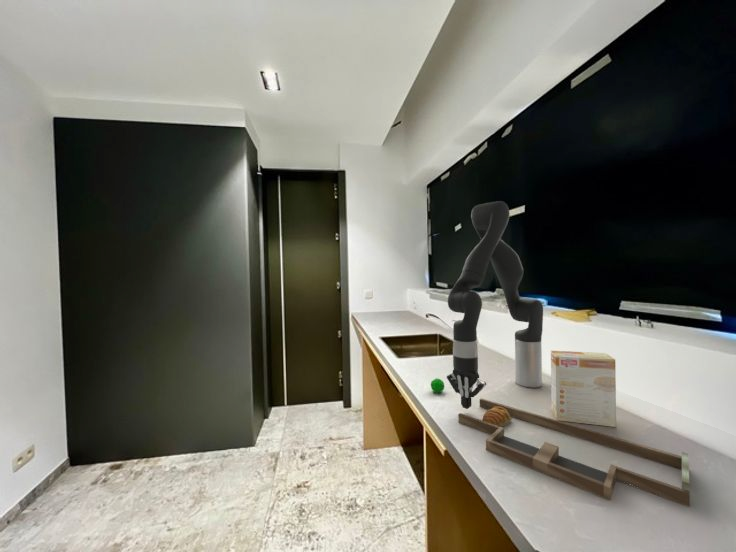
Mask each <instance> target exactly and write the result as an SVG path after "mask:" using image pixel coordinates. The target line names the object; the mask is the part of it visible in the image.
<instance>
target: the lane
mask: <svg viewBox="0 0 736 552" xmlns="http://www.w3.org/2000/svg"><path fill="white" fill-rule="evenodd" d="M495 406H496V407H503V408H505V409H506V410H507V412H508V413H509V415H510V417H511V418H514V419H518V420H522V421H525V422H528V423H531V424H534V425H538V426H541V427H544V428H548V429H551V430H554V431H557V432H561V433H563V434H566V435H569V436H572V437H576V438H580V439H583V440H586V441H589V442H592V443H595V444H598V445H599V444H600V445H601V446H605V447H609V448H612V449H615V450H618V451H622V452H625V453H628V454H631V455H635V456H637V457H640V458H644V459H647V460H650V461H654V462H656V463H659V464H664V465H667V466H669V467H673V468H677V469H680V470H681V487H679V486H675V485H672V484H670V483H667V482H664V481H661V480H658V479H654V478H652V477H649V476H646V475H643V474H640V473H637V472H634V471H631V470H628V469H626V468H622V467H619V466H617V465H614V464H610V465H609V468H608V471H607V473H608V474H607V477H606V480H605V483H603V482H601V481H598V480H595V479H593V478H590V477H588V476H585V475H582V474H580V473H577V472H574V471H572V470H569V469H566V468H564V467H561V466H559V465H556V464H554V462H555V461H556V459H557V457H558V456H560V455H559V453H560V452H559V451H560V450H559V449H560V448H559V446H558V445H555V444H552V443H549V442H546V441H544V443H543V444H542V445H541V447H540V448H539V451H538V452H537V453H536V455H535V456H532V455H529V454H527V453H524V452H522V451H519V450H516V449H514V448H511V447H508V446H506V445H503V444H500V443H498V442H499V441H500V440H501V439H502V438H503V436H505V428H504V427H500V426H497V425H494V424H491V423H488V422H485V421H482V419H479V418H477V417H473V416H470V415H467V414H464V413H461V412H460V413H458V414H457V415H458V423H459V424H461V425H465V426H467V427H470V428H472V429H475V430H478V431H480V432H484V433H486V434H489V435H490V436H489V437H488V438H486V439H485V450H486V451H488V452H490V453H493V454H495V455H498V456H500V457H503V458H505V459H507V460H510V461H512V462H515V463H517V464H519V465H522V466H525V467H527V468H529V469H532V470H535V471H537V472H538V473H542V474H544V475H547V476H549V477H552V478H554V479H556V480H559V481H561V482H564V483H566V484H569V485H572V486H573V487H577V488H579V489H581V490H584V491H586V492H589V493H591V494H594V495H596V496H599V497H601V498H603V499H605V498H606V499H605V500H608V501H611V499H612V495H613V492H614V488H615V484H616V481H617V480H618V482H620V481H621V482H620V483H623V482H625V483H624V484H626V483H627V484H626V485H628V484H631V485H633V486H632V487H634V486H635V488H637V487H638V488H637V489H639V488H640V490H642V489H643V490H642V491H645V490H646V491H645V492H647V491H649V492H648V493H650V492H651V494H653V493H654V494H653V495H656V494H657V495H656V496H658V495H659V497H662V498H664V497H665V498H664V499H667V498H668V499H667V500H669V499H670V501H672V500H673V501H672V502H675V501H676V502H675V503H678V502H679V503H678V504H680V503H682V504H681V505H683V504H685V505H684V506H686V505H687V507H688V506H690V500H691V499H690V497H691V493H690V487H691V486H690V468H689V467H690V462H689V453H687V452H683V451H681V455H678V454H675V453H671V452H668V451H664V450H661V449H657V448H655V447H654V448H653V447H650V446H648V445H643V444H640V443H637V442H633V441H631V440H626V439H623V438H619V437H615V436H613V435H609V434H605V433H602V432H599V431H596V430H592V429H589V428H585V427H582V426H578V425H576V424H572V423H567V422H566V421H558V420H556V419H553V418H550V417H547V416H543V415H540V414H538V413H532V412H530V411H526V410H523V409H519V408H516V407H512V406H509V405H505V404H502V403H499V402H495V401H491V400H490V399H489V400H488V399H485V398H479V407H480V408H483V409H485V410H489V409H492V408H494V407H495ZM631 485H630V486H631Z"/></svg>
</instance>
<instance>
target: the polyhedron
mask: <svg viewBox="0 0 736 552" xmlns="http://www.w3.org/2000/svg"><path fill="white" fill-rule="evenodd" d="M430 386H431V387H430V388H431V390H432V391H433V392H435V393H436V392H438V394H439V393H440V394H441V392H443V391H444V389H445V383H444V381H443V380H442V379H440V378H434V379H433V380H431V382H430Z"/></svg>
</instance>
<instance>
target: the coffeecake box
mask: <svg viewBox="0 0 736 552" xmlns="http://www.w3.org/2000/svg"><path fill="white" fill-rule="evenodd" d="M616 372H617V371H616V359H615V358H614V357H612V356H611V355H610V354H609V353H606V352H585V351H571V350H570V351H566V350H550V387H551V389H550V390H551V395H550V396H551V412H552V414H553V416H554V418H555V420H558V421H561V422H570V423H578V424H588V425H596V426H602V427H603V426H604V427H610V428H616V427H617V395H616V394H617V388H616V386H617V384H616V383H617V381H616V377H617V375H616Z"/></svg>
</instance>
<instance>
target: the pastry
mask: <svg viewBox="0 0 736 552" xmlns="http://www.w3.org/2000/svg"><path fill="white" fill-rule="evenodd" d="M482 416H483V417H482V419H481V420H482V421H485V422H488V423H491V424H494V425H497V426H500V427H503V428H504V427H505V426H506V425H509V424H510V423H511V422H512V417H511V416H510V415H509V413H508V412H507V410H506V409H505V408H503V407H496V406H495V407H494V408H492V409H486V412H485V413H483V415H482Z"/></svg>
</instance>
